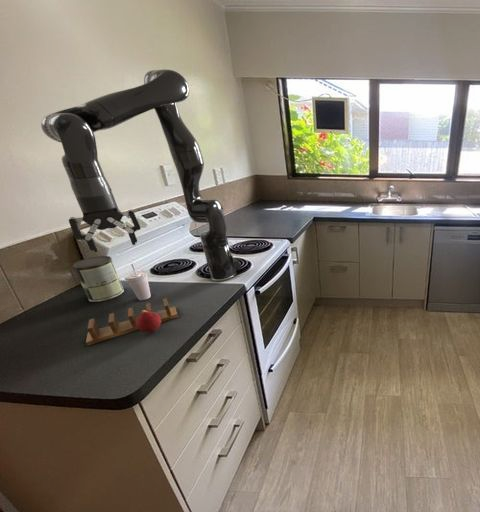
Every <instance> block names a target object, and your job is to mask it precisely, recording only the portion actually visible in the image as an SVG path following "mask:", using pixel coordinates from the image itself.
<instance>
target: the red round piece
mask: <svg viewBox="0 0 480 512" xmlns="http://www.w3.org/2000/svg"><path fill="white" fill-rule="evenodd" d="M155 312H156V311H155ZM155 312H154V311H153V312H150V311H147V310H145V309H142V310H141V313H140V314H139V316H138V317H137V318H138V319H137V321H136V325H137V328H138V329H139V331H141V332H144V333H149V334H150V333H152V334H153V333H155V332H156V330H158V329H159V327H160V326H161V325H162V322H161V318H160V316H159V315H158V314H157V313H155Z"/></svg>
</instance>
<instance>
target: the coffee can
mask: <svg viewBox="0 0 480 512" xmlns="http://www.w3.org/2000/svg"><path fill="white" fill-rule="evenodd" d="M71 267H72V268H73V270H74V272H75V274H76V276H77V279H78V281H79V282H80V284H81V287H82V288H83V290H84V293H85V295H86V297H87V300H88V301H89V302H91V303H96V302H97V303H98V302H99V303H100V302H105V301H108V300H112V299H114V298H117V297H119V296H121V295H122V294H123V293H124V292H125V288H124V287H123V285H122V282H121V280H120V277H119V275H118V272H117V270H116V268H115V265H114V263H113V260H112V257H111V256H109V255H99V256H93V257H88V258H84V259H80V260H79V261H76V262H74V263H73V264H72V265H71Z"/></svg>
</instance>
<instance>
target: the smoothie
mask: <svg viewBox="0 0 480 512" xmlns="http://www.w3.org/2000/svg"><path fill="white" fill-rule="evenodd" d="M131 267H132V270H133V272H130V273H128V274H126V275H125V276H124V280H125V281H127V283H128V285H129V287H131V290H132V291H133V293H134V295H135V296H136V299H138V301H145V300H149V299H150V298H151V297H152V294H151V291H150V290H151V289H150V284H149V278H148V271H146V270H139V271H137V269H136V268H135V265H134V263H131Z"/></svg>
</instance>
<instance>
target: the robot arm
mask: <svg viewBox="0 0 480 512" xmlns="http://www.w3.org/2000/svg"><path fill="white" fill-rule="evenodd" d="M188 83H189V82H187V79H186V78H185V77H184V76H183V74H181V73H179V72H177V71H176V70H173V69H166V68H164V69H152V70H148V71H147V72H146V73H145V74H144V77H143V84H140V85H137V86H135V87H132V88H127V89H122V90H119V91H115V92H111V93H108V94H105V95H102V96H99V97H96V98H93V99H91V100H89V101H86V102H85V103H82V104H80V105H76V106H73V107H69V108H65V109H61V110H58V111H55V112H52V113H49V114H47V115H46V116H45V117H43V118H42V119H41V123H40V127H41V130H42V131H43V133H44V134H45V135H46V136H47V138H49V139H51V140H52V141H55V142H58V143H61V145H62V150H63V152H64V154H63V155H62V156H61V163H62V166H63V168H64V170H65V173H66V175H67V178H68V181H69V183H70V188H71V190H72V193H73V194H74V198H75V199H76V201H77V204H78V206H79V208H80V210H81V214H82V216H81V217H80V216H79V217H74V216H71V217H69V219H68V224H69V225H70V228H71V231H72V234H73V236H74V239H75V240H77V241H80V240H81V241H85V242H86V244H87V247H88V248H89V250H90V251H93V252H94V253H98V252H99V248H98V246H97V244H96V241H95V239H94V234H95V233H96V231H97V230H99V231H104V230H107V229H116V228H117V227H118V228H119V229H121V230H124V231H126V232H127V234H128V237H129V239H130V242H131V245H132V246H136V245H137V244H136V243H138V238H137V235H136V231H141V224H140V223H139V220H138V219H137V216H136V214H135V211H134V210H133V209H128V210H125V211H121V210H120V209H119V207H118V205H117V202H116V199H115V197H114V193H113V191H112V190H113V189H112V188H111V185H110V183H109V182H108V180H107V177H106V176H105V174H104V171H103V169H102V166H101V162H100V161H99V157H98V148H97V141H96V135H95V133H96V132H99V131H105V130H109V129H112V128H115V127H117V126H119V125H121V124H123V123H125V122H127V121H129V120H132V119H133V118H136V117H138V116H140V115H142V114H145V113H147V112H149V111H151V110H154V111H155V113H156V116H157V119H158V120H159V124H160V126H161V129H162V132H163V135H164V137H165V140H166V144H167V146H168V150H169V153H170V156H171V159H172V162H173V164H174V167H175V170H176V172H177V176H178V179H179V183H180V185H181V189H182V193H183V197H184V202H185V207H186V210H187V214H188V216H189V218H190V219H191V220H192V221H193V222H194V223H197V224H208V228H209V229H206V230H204V231H202V232H201V233H200V234H199V238H200V241H201V245H202V249H203V253H204V257H205V260H206V261H205V262H206V264H207V268H208V272H209V275H210V279H211V281H212V282H224V281H227V280H231V279H233V278H234V277H237V276H238V274H237V271H238V270H239V269H240V268H241V266H242V265H241V262H239V260H238V259H237V258H236V257H234V256H233V254H232V253H231V249H230V244H229V239H228V235H227V223H226V216H225V211H224V207H223V205H222V203H221V202H220V201H219V200H218V199H214V198H213V199H212V198H202V194H201V191H200V181H201V178H202V174H203V172H204V167H205V161H204V158H203V154H202V151H201V148H200V145H199V142H198V140H197V139H196V138H195V137H194V135H193V133H192V131H190V129H189V128H188V127H187V126H186V124H185V122H184V121H183V119H182V116H181V114H180V111H179V108H178V104H177V103H182V102H184V101H186V100H187V99H188V97H189V95H190V86H189V84H188ZM124 216H125V217H126V218H127V219H130V220H131V222H132V224H133V226H130V225H128V224H127V223H126V222H124V221H122V219H123V217H124ZM82 222H84V223H86V224H87V225H89V226H90V227H89V229H88V230H87V232H86V234H85V233H82V231H81V228H80V227H79V226H81V225H82Z"/></svg>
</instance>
